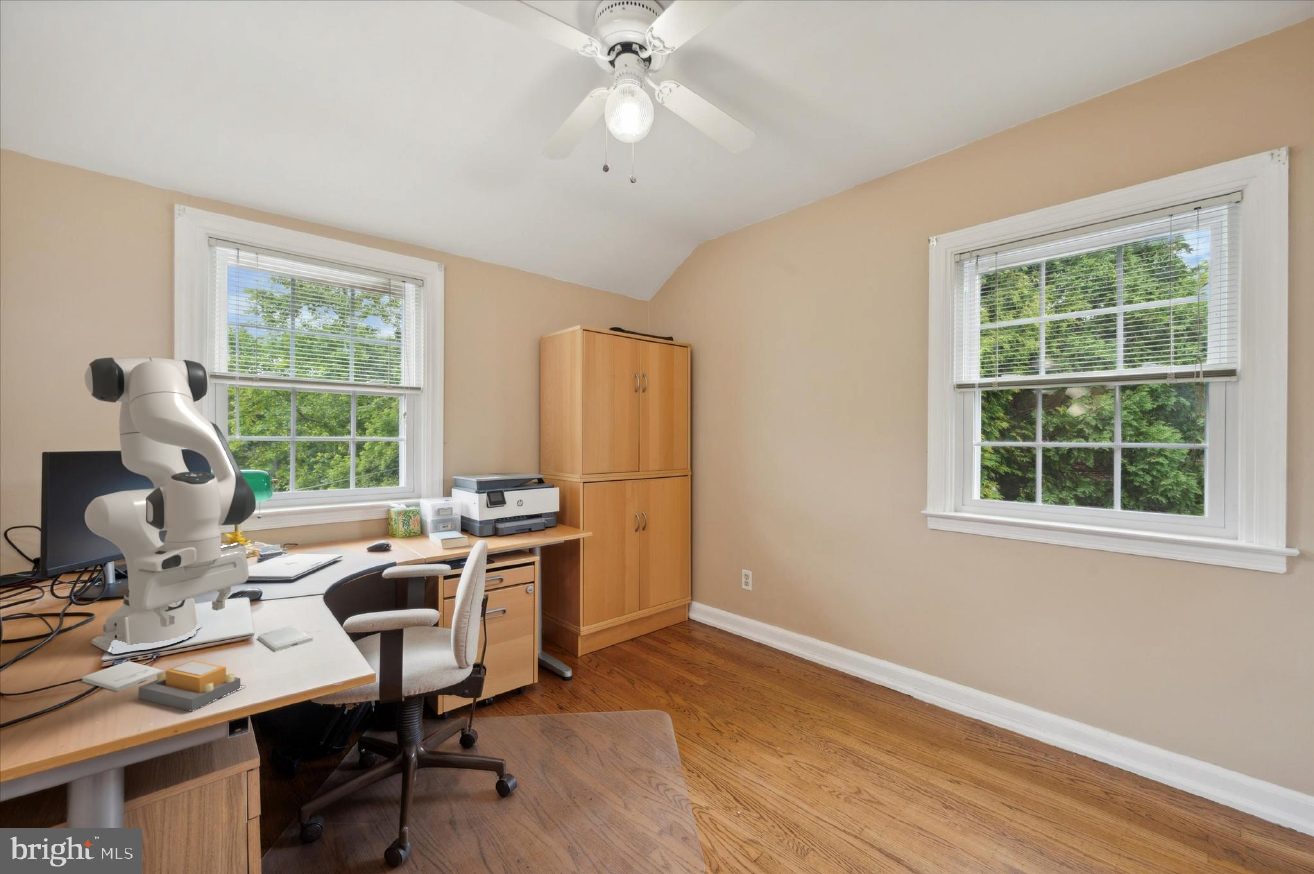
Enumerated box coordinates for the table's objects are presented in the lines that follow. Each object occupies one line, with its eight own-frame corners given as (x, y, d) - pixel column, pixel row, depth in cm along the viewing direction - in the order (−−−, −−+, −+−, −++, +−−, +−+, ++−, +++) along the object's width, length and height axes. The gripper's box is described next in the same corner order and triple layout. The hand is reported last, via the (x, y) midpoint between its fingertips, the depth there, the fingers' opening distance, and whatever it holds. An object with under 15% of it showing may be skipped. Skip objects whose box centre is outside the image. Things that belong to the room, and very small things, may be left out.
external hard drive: (130, 667, 123) (164, 676, 119) (82, 684, 115) (117, 694, 111) (129, 660, 123) (164, 669, 119) (82, 676, 115) (117, 686, 111)
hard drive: (257, 634, 138) (275, 647, 130) (294, 625, 144) (312, 636, 137) (257, 641, 138) (275, 654, 130) (294, 631, 144) (313, 643, 137)
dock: (138, 698, 108) (138, 681, 108) (194, 676, 118) (193, 660, 118) (192, 711, 104) (192, 693, 104) (245, 687, 113) (245, 670, 113)
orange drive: (165, 692, 110) (165, 669, 110) (193, 680, 115) (192, 659, 115) (199, 700, 107) (199, 677, 107) (226, 688, 112) (226, 666, 112)
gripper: (235, 538, 121) (235, 598, 122) (122, 561, 102) (123, 633, 102) (255, 541, 119) (255, 602, 120) (145, 565, 100) (145, 638, 100)
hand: (194, 616), depth 111 cm, fingers open, 8 cm apart
